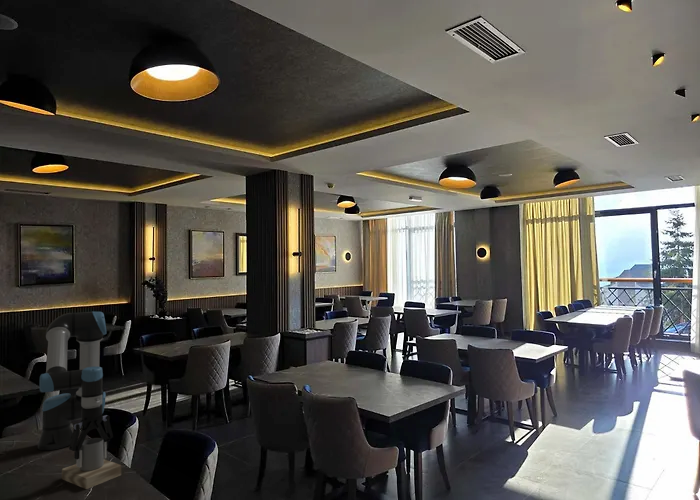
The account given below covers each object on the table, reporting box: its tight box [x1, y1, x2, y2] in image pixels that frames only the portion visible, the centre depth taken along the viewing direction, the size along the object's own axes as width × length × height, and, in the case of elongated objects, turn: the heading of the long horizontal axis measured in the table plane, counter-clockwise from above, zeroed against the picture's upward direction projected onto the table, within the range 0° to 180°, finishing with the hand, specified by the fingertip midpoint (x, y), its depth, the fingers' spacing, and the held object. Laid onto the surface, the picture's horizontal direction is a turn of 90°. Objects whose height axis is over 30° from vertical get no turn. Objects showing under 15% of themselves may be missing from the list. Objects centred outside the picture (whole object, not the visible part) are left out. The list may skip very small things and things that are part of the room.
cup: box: [80, 437, 104, 471], centre depth 187 cm, size 8×8×10 cm
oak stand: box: [61, 458, 122, 490], centre depth 186 cm, size 18×14×4 cm
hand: (91, 462), depth 186 cm, fingers open, 9 cm apart
